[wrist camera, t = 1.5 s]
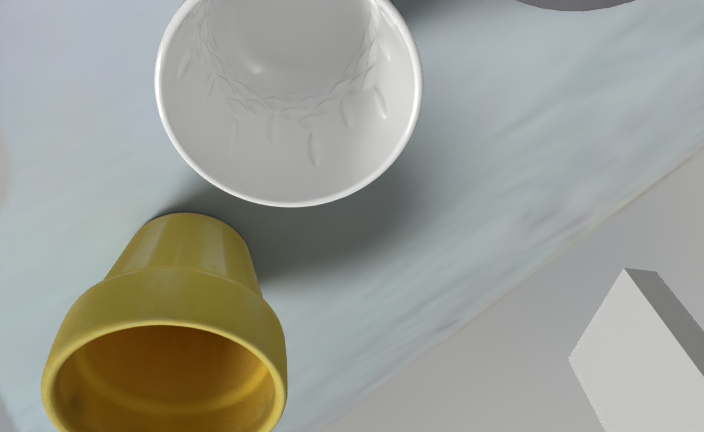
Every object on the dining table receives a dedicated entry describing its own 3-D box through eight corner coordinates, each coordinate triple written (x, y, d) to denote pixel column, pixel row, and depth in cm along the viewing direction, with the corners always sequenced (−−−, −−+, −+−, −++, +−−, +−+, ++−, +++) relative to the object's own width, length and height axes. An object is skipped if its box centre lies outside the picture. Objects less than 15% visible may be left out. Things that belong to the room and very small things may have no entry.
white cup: (401, -72, 24) (461, -3, 16) (352, 101, 29) (381, 224, 21) (205, -126, 23) (165, -78, 14) (185, 67, 27) (145, 187, 19)
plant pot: (313, 290, 36) (323, 433, 28) (160, 343, 37) (128, 494, 29) (234, 152, 30) (218, 285, 22) (55, 222, 31) (-22, 370, 23)
